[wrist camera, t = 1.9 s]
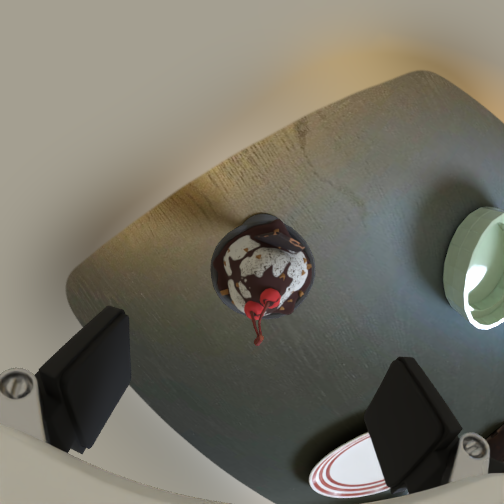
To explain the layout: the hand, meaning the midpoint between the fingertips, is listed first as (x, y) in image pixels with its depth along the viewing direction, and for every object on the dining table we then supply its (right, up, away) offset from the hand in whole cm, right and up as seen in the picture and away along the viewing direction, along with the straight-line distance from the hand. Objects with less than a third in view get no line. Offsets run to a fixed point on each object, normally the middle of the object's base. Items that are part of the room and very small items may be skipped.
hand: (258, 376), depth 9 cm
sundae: (+1, +5, +19) cm, 20 cm away
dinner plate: (+23, -32, +28) cm, 49 cm away
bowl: (+29, +3, +18) cm, 34 cm away
